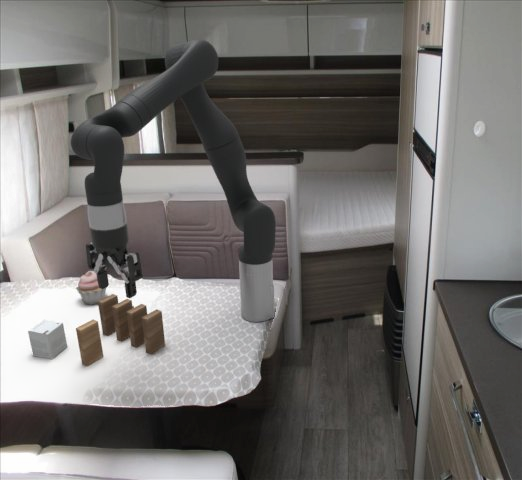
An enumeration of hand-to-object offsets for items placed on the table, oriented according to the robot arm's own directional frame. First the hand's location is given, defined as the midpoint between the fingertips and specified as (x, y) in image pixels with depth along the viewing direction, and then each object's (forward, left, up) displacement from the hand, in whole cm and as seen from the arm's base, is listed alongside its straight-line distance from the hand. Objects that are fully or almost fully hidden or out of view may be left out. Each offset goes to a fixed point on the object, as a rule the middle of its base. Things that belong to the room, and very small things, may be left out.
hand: (117, 291), depth 112 cm
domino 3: (+3, -18, -22) cm, 28 cm away
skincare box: (+22, -13, -22) cm, 34 cm away
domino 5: (-5, -11, -22) cm, 25 cm away
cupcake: (+17, -41, -22) cm, 50 cm away
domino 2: (+8, -21, -22) cm, 32 cm away
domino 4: (-1, -14, -22) cm, 26 cm away
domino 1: (+10, -8, -22) cm, 25 cm away
